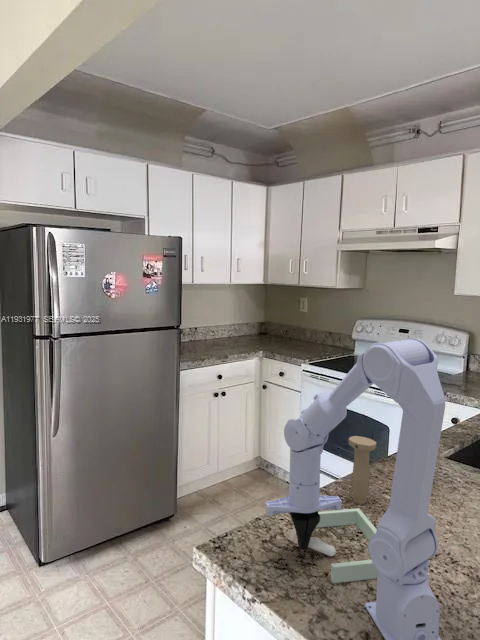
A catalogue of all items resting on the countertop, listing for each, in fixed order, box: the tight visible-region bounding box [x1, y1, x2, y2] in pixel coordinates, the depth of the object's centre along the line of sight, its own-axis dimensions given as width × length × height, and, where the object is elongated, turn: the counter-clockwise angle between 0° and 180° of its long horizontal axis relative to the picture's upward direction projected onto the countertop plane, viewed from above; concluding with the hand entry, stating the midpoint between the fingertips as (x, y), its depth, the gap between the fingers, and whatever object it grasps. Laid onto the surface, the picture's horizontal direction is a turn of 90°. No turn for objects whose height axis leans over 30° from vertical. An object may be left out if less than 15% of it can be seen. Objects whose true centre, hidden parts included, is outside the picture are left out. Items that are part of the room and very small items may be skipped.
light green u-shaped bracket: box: [315, 507, 378, 584], centre depth 89 cm, size 18×13×3 cm
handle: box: [348, 435, 377, 505], centre depth 107 cm, size 5×6×15 cm
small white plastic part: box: [308, 536, 337, 557], centre depth 87 cm, size 4×6×3 cm, turn 45°
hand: (302, 546), depth 87 cm, fingers closed
